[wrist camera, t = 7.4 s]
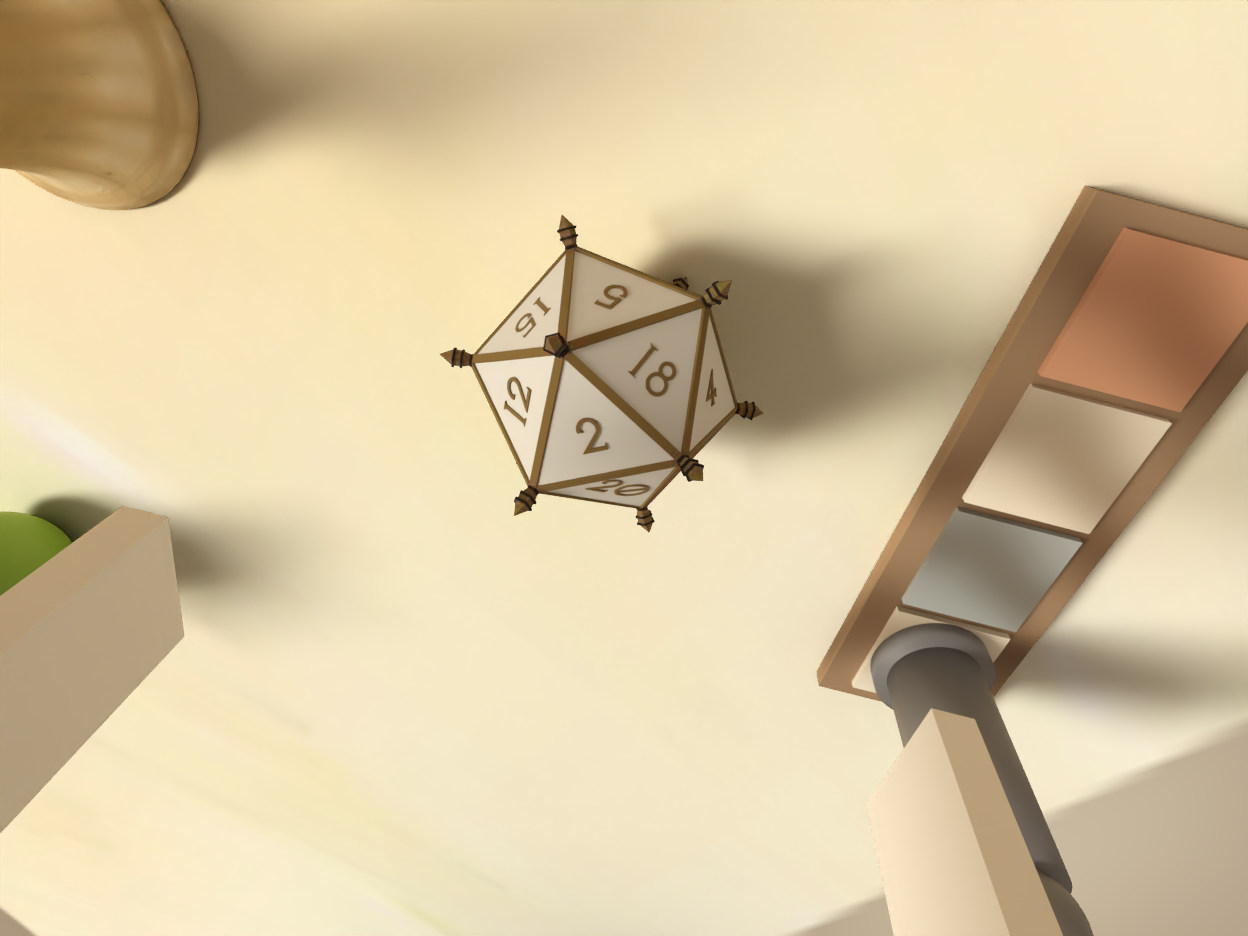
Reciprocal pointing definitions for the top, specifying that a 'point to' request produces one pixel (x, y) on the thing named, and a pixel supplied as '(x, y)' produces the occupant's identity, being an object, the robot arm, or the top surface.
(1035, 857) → the pawn
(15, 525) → the snail figurine
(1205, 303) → the track
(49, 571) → the robot arm
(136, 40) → the hand bell
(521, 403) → the game die
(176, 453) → the top surface
